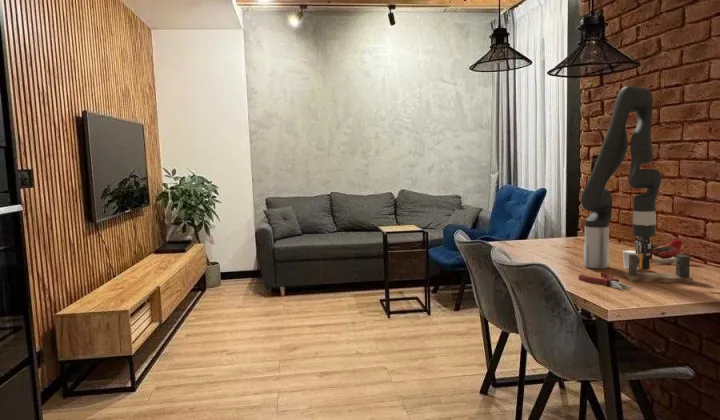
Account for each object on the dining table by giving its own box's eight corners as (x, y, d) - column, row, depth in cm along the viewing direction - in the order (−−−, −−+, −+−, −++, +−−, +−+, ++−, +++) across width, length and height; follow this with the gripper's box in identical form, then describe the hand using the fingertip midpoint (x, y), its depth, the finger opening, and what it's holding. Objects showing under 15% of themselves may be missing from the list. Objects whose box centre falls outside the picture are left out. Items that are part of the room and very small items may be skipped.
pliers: (612, 293, 167) (612, 286, 167) (576, 280, 187) (576, 273, 187) (641, 290, 169) (641, 283, 169) (603, 277, 189) (603, 271, 189)
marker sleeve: (640, 268, 180) (640, 255, 180) (636, 265, 185) (636, 252, 184) (650, 268, 179) (650, 255, 179) (646, 266, 184) (646, 253, 184)
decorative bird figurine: (685, 262, 206) (686, 239, 205) (641, 263, 208) (641, 240, 207) (681, 261, 209) (682, 238, 208) (638, 262, 211) (638, 239, 210)
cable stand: (631, 281, 180) (631, 257, 179) (625, 276, 188) (625, 253, 187) (693, 282, 175) (693, 258, 174) (684, 277, 182) (685, 253, 182)
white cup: (625, 265, 205) (625, 249, 205) (643, 267, 200) (643, 250, 200) (620, 268, 201) (620, 251, 200) (638, 270, 196) (638, 253, 195)
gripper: (627, 220, 188) (627, 263, 190) (638, 225, 175) (637, 272, 176) (649, 220, 186) (648, 263, 188) (662, 225, 173) (661, 272, 174)
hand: (643, 267), depth 182 cm, fingers closed on marker sleeve, 5 cm apart
